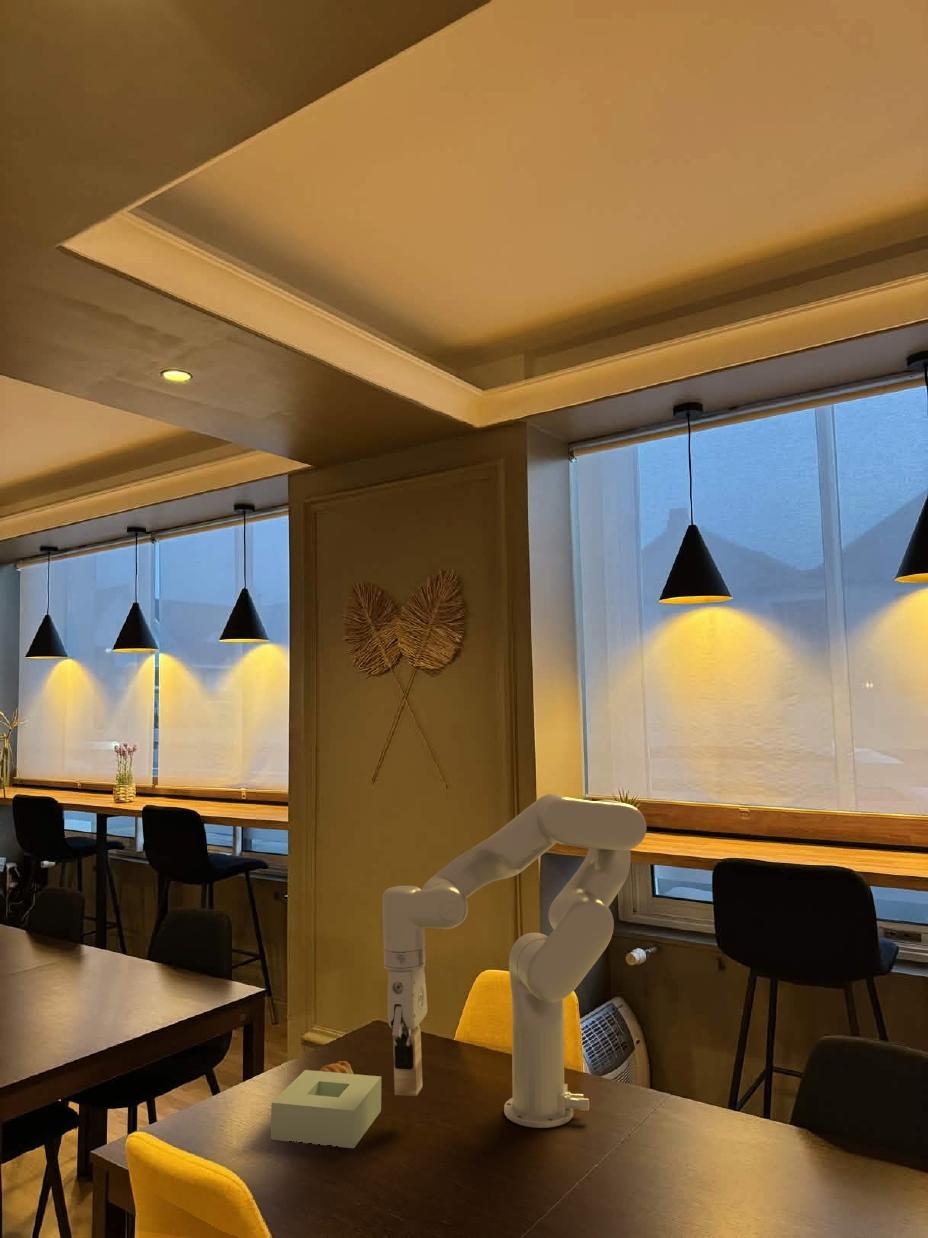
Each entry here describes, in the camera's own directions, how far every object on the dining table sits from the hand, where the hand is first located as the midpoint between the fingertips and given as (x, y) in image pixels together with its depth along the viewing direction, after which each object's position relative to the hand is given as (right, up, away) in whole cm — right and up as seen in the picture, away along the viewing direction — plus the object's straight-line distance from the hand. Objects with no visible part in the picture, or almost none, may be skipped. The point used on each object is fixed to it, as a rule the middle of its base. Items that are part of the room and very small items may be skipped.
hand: (408, 1062), depth 160 cm
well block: (-14, -11, -1) cm, 18 cm away
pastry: (-16, -13, +17) cm, 27 cm away
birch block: (0, -5, -1) cm, 5 cm away
